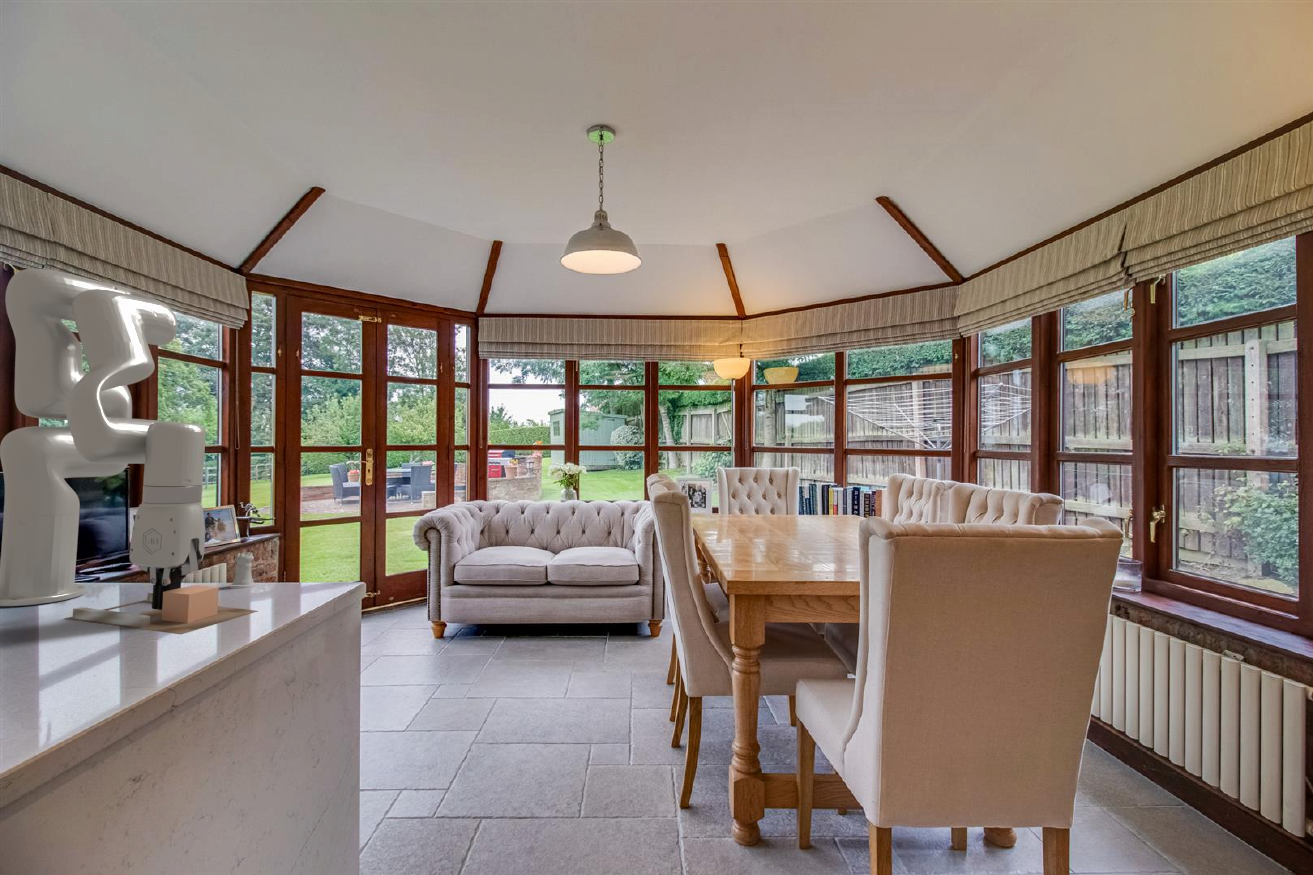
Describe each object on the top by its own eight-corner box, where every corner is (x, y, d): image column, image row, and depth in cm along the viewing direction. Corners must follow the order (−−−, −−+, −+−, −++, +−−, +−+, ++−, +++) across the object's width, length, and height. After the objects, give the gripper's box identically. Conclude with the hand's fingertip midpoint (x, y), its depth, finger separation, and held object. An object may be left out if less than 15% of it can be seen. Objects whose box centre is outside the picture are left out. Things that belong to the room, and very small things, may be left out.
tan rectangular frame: (63, 627, 90) (64, 608, 90) (151, 606, 102) (152, 590, 103) (180, 644, 85) (182, 623, 85) (258, 619, 98) (259, 602, 98)
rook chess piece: (261, 591, 116) (263, 552, 116) (243, 597, 111) (245, 556, 111) (241, 590, 116) (243, 550, 116) (222, 595, 112) (224, 554, 112)
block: (161, 620, 91) (163, 591, 91) (192, 611, 96) (193, 584, 96) (187, 622, 90) (189, 594, 90) (217, 614, 95) (218, 587, 95)
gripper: (111, 495, 92) (104, 609, 92) (186, 500, 89) (179, 618, 89) (160, 492, 100) (154, 597, 99) (231, 497, 96) (224, 606, 96)
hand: (165, 607), depth 94 cm, fingers closed
